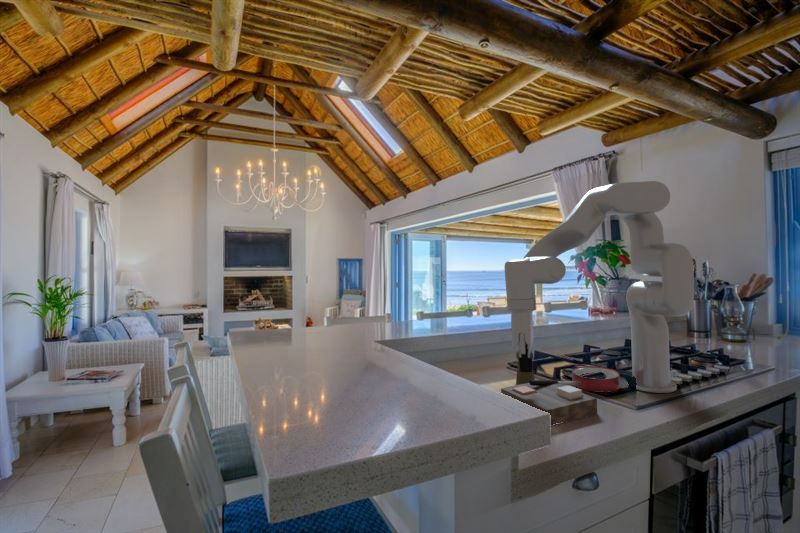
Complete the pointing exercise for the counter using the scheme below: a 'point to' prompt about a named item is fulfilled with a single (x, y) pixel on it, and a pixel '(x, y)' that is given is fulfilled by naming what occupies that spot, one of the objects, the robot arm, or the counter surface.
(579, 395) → the cream key
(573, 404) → the brown wooden flat board
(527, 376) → the olive brown rounded cylinder
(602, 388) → the frying pan
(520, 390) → the terracotta key
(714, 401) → the counter surface
